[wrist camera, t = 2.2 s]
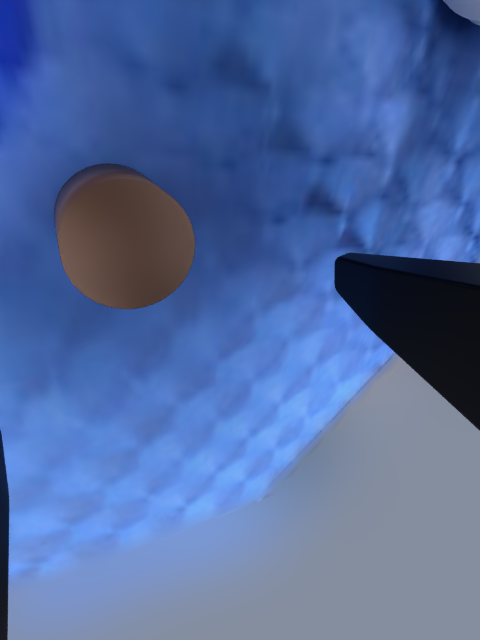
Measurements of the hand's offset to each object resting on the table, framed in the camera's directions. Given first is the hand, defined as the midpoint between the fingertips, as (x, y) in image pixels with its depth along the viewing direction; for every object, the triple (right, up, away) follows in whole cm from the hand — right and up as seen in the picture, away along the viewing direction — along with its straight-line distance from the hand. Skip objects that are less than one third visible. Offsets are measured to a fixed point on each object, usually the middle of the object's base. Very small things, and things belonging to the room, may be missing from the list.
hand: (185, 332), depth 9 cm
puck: (-5, +5, +8) cm, 10 cm away
